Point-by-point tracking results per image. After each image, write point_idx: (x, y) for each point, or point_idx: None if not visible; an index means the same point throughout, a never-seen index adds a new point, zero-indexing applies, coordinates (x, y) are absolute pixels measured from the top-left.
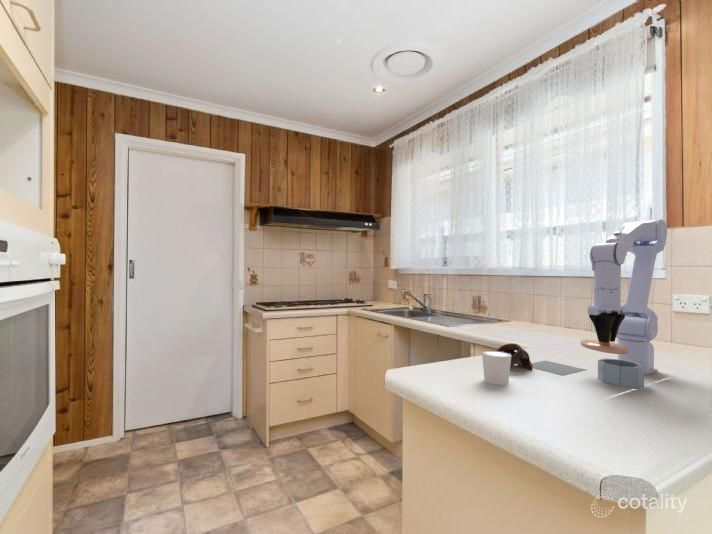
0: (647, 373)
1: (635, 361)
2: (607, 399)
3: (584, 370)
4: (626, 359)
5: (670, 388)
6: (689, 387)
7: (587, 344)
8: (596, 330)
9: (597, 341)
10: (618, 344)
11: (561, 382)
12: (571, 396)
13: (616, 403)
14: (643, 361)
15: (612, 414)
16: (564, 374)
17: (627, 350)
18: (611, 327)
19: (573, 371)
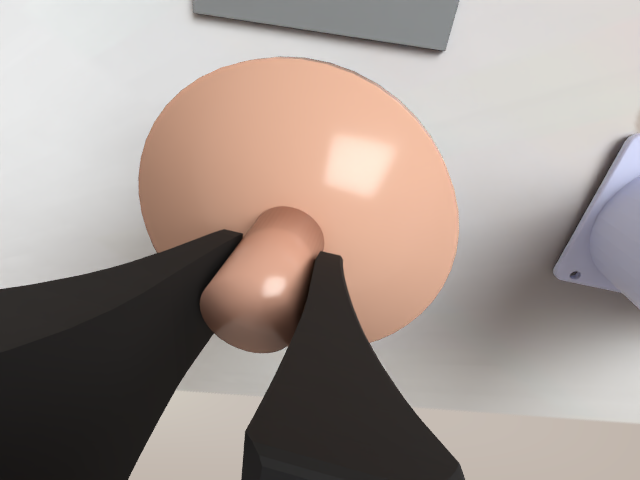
0: (597, 285)
1: (622, 275)
2: (94, 237)
3: (417, 46)
4: (638, 237)
5: (394, 346)
6: (460, 383)
7: (155, 158)
8: (146, 264)
9: (375, 175)
10: (427, 300)
11: (112, 56)
12: (11, 156)
13: (87, 260)
14: (637, 307)
15: (8, 267)
16: (220, 8)
17: (288, 345)
18: (162, 409)
19: (332, 12)
